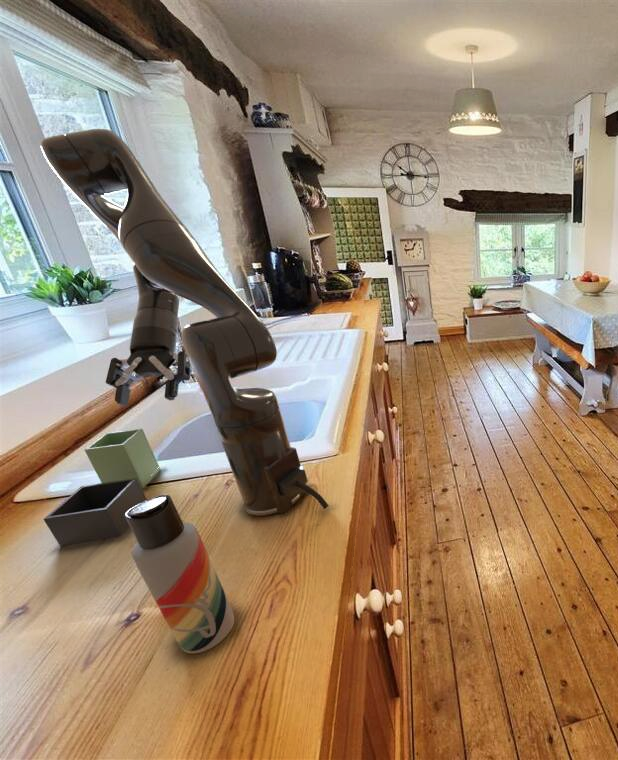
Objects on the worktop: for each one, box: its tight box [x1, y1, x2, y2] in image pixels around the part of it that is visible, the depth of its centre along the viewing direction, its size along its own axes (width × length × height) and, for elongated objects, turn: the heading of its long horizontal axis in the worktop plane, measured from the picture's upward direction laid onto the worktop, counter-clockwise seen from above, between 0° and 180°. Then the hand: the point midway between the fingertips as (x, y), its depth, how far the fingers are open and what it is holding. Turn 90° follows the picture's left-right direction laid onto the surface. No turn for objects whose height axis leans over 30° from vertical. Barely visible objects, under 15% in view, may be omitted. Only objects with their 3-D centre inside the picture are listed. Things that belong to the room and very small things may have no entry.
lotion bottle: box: [125, 494, 235, 654], centre depth 47 cm, size 6×6×20 cm
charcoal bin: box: [43, 478, 148, 547], centre depth 68 cm, size 8×8×6 cm
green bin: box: [84, 428, 162, 489], centre depth 78 cm, size 6×6×10 cm
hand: (146, 401), depth 84 cm, fingers open, 8 cm apart
